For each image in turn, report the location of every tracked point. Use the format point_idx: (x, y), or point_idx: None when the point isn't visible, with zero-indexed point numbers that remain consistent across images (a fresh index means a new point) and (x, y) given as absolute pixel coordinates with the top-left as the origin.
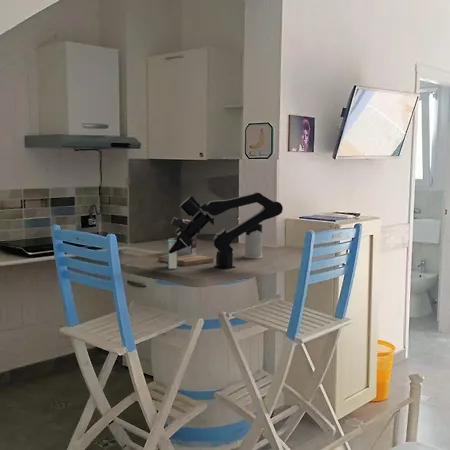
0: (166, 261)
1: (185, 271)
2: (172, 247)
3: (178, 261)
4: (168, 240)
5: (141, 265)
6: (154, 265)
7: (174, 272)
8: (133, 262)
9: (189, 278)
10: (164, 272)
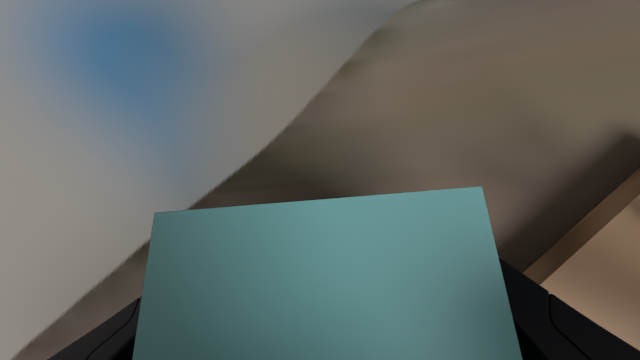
0: (590, 215)
1: None
2: None
3: None
4: (345, 202)
5: (411, 74)
6: (421, 144)
7: None
8: (518, 14)
9: (24, 354)
10: None
